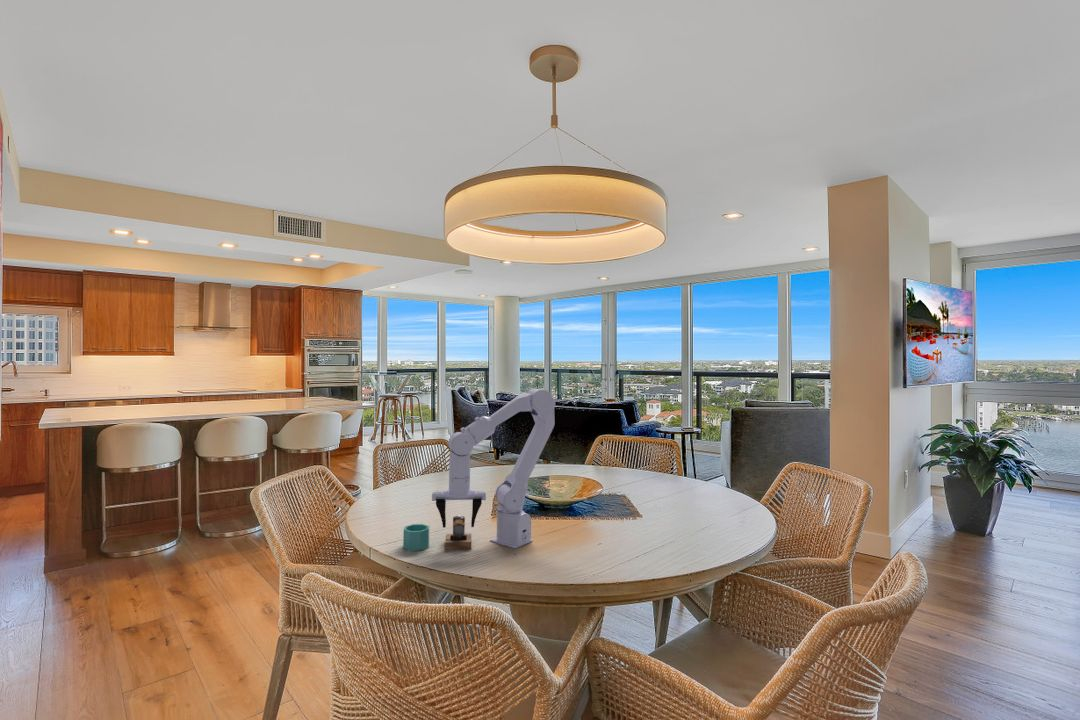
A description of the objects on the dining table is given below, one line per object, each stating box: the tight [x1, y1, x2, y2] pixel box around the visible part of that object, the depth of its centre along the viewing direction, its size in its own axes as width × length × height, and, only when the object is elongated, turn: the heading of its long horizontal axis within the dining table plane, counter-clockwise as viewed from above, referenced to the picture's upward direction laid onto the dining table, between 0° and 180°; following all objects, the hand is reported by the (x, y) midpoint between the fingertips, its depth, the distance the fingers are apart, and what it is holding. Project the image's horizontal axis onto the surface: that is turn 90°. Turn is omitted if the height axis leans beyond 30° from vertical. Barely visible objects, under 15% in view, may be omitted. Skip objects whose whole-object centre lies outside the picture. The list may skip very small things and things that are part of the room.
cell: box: [452, 514, 466, 541], centre depth 147 cm, size 3×3×8 cm
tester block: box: [444, 533, 472, 551], centre depth 147 cm, size 7×7×2 cm
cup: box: [402, 523, 430, 552], centre depth 146 cm, size 7×7×5 cm
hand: (458, 526), depth 147 cm, fingers open, 7 cm apart
